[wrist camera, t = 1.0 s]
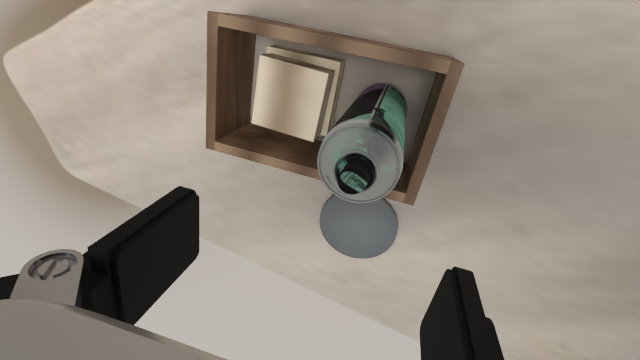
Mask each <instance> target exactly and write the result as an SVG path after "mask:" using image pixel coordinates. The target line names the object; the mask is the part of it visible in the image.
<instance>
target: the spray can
mask: <svg viewBox="0 0 640 360" xmlns="http://www.w3.org/2000/svg"><path fill="white" fill-rule="evenodd" d="M406 112H407V105H406V100H405V97H404V95H403V94H402V92H401V91H400V90H399V89H398V88H396V87H395V86H393V85H391V84H387V83H378V84H374V85H371V86H370V87H368V88H367V89H365V90H364V91H363V92H362V93H361V94H360V96H359V97H358V98H357V99H356V100H355V102H354V103H353V104H352V105H351V106H350V108H349V109H348V110H347V111H346V112H345V113H344V115H343V116H342V117H341V118H340V119H339V121H338V122H337V123H336V124H335V125H334V127H333V128H332V129H331V130H330V131H329V133H328V134H327V135H326V137H325V138H324V140H323V142H322V144H321V146H320V150H319V152H318V158H317V167H318V171H319V175H320V177H321V179H322V181H323V183H324V184H325V186H326V187H327V188H328V189H329V190H330V191H331V192H332V193H333V194H335V195H336V196H337V197H339V198H341V199H343V200H345V201H349V202H353V203H370V202H374V201H377V200H379V199H381V198H383V197H384V196H386V195H387V194H389V193H390V192H391V190H392V189H393V188H394V187H395V185H396V184H397V182H398V180H399V178H400V176H401V172H402V169H403V160H404V144H405V128H406Z"/></svg>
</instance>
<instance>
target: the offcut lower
mask: <svg viewBox="0 0 640 360" xmlns="http://www.w3.org/2000/svg"><path fill="white" fill-rule="evenodd" d="M269 53H274V54H277V55H281V56H285V57H288V58H292V59H296V60H299V61H303V62H307V63H310V64H314V65H317V66H321V67H325V68H328V69H332V70H335V74H334V78H333V82H332V87H331V91H330V95H329V100H328V104H327V108H326V112H325V117H324V121H323V125H322V130H321V134H320V135H322V136H326V135H327V134H328V133H329V131H330V130H331V129H332V125H333V120H334V115H335V110H336V105H337V100H338V95H339V90H340V85H341V80H342V75H343V70H344V65H345V60H342V59H337V58H332V57H328V56H323V55H319V54H314V53H309V52H305V51H300V50H296V49H291V48H286V47H282V46H277V45H274V46H267V53H266V54H269Z"/></svg>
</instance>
